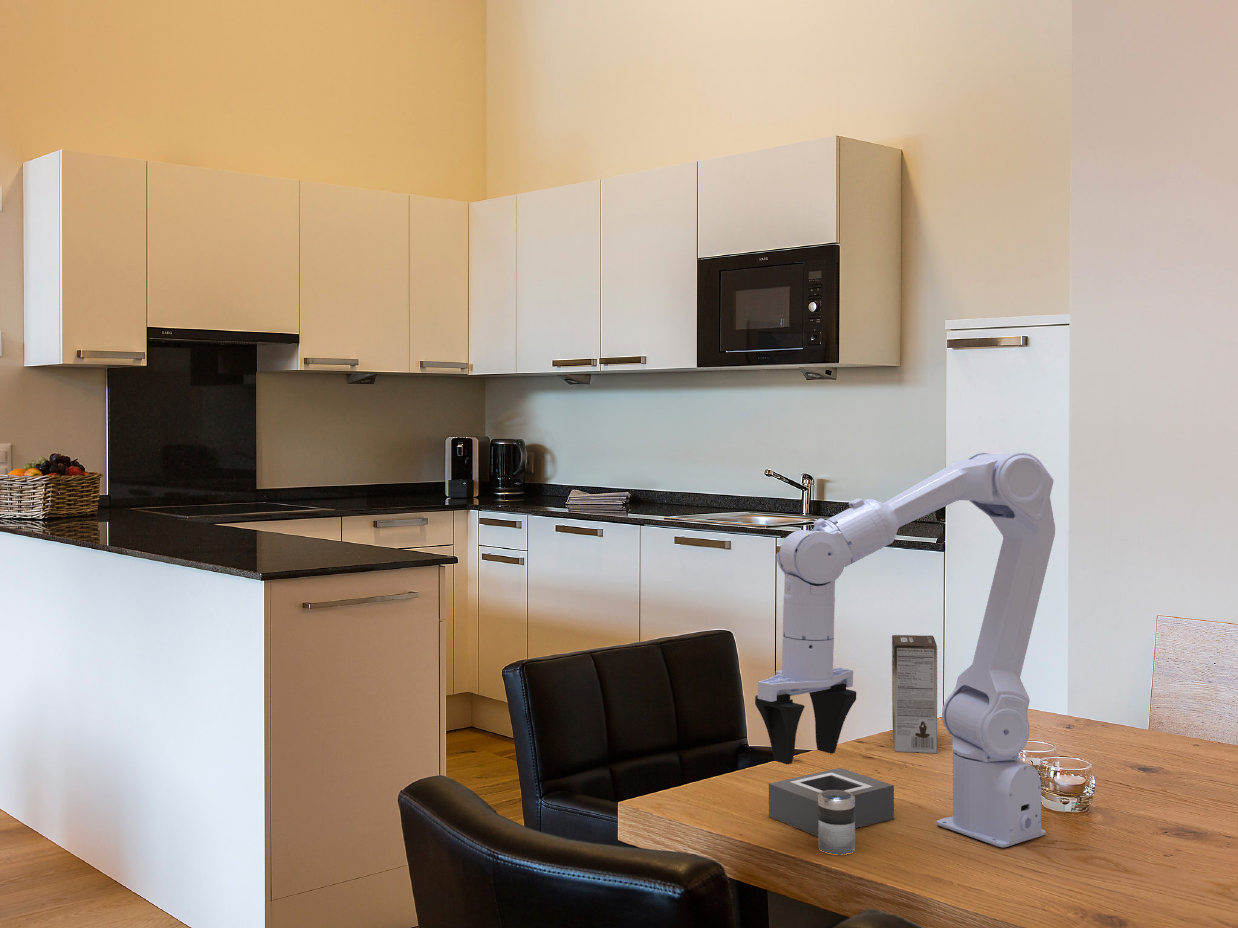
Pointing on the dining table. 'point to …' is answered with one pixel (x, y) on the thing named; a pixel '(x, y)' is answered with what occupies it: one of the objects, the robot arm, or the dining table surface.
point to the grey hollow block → (800, 794)
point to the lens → (836, 822)
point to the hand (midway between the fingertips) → (804, 756)
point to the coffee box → (914, 693)
